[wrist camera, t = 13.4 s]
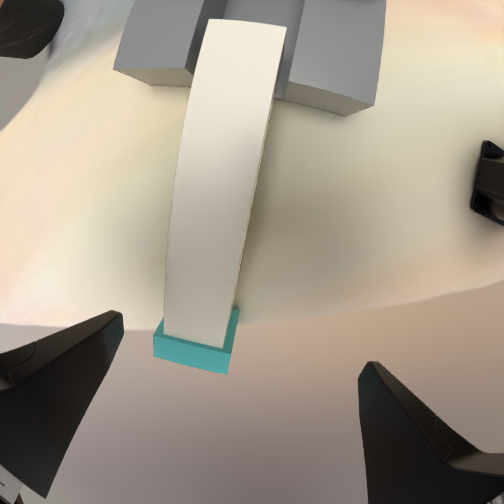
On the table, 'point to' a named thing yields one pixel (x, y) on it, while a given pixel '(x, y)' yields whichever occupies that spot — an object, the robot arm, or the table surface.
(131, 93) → the table surface
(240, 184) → the bar
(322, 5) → the housing
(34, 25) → the travel mug
